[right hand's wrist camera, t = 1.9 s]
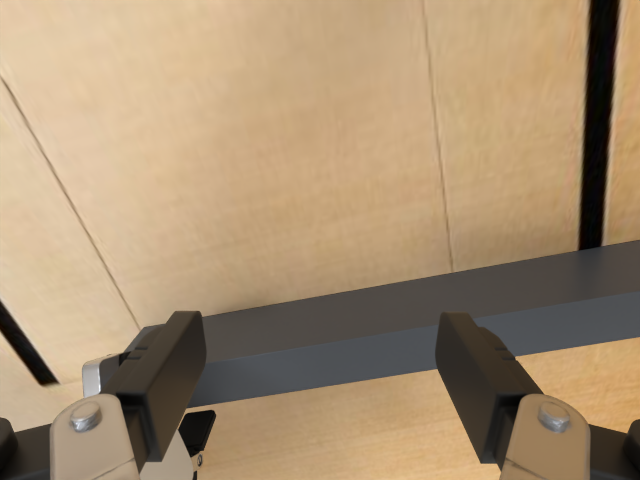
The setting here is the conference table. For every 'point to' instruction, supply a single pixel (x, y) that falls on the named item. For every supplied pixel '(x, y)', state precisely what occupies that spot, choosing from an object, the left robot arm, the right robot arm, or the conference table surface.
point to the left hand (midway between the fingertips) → (185, 376)
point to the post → (418, 323)
